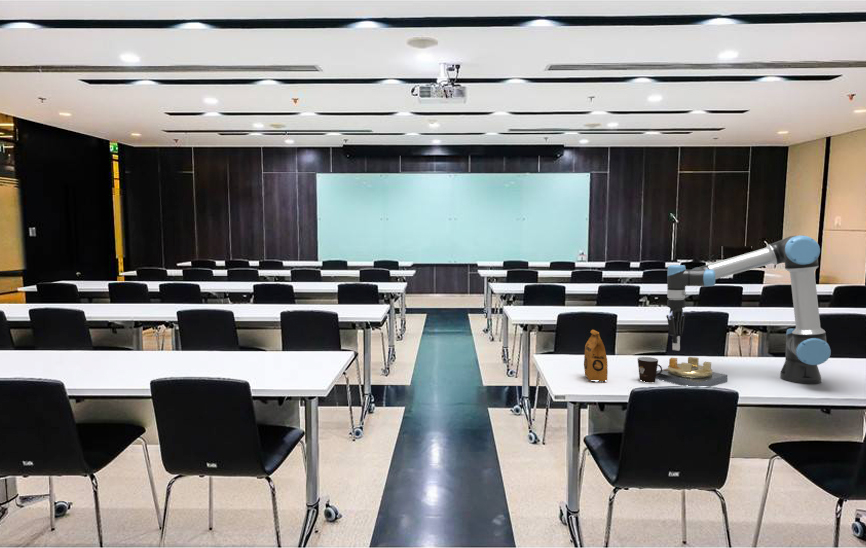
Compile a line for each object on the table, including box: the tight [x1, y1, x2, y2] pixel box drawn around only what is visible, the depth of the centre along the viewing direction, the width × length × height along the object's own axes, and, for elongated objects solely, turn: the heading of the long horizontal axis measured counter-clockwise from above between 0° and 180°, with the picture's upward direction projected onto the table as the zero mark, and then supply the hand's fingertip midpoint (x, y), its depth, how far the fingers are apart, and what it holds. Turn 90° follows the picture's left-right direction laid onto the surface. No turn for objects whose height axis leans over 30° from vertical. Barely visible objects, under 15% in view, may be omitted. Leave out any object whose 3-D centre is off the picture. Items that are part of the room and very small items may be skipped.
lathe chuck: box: [667, 356, 713, 378], centre depth 241 cm, size 18×18×6 cm
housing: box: [655, 367, 729, 387], centre depth 242 cm, size 22×22×3 cm
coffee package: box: [583, 329, 609, 381], centre depth 244 cm, size 10×12×22 cm
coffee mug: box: [637, 356, 663, 383], centre depth 239 cm, size 12×9×10 cm
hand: (676, 349), depth 246 cm, fingers closed
